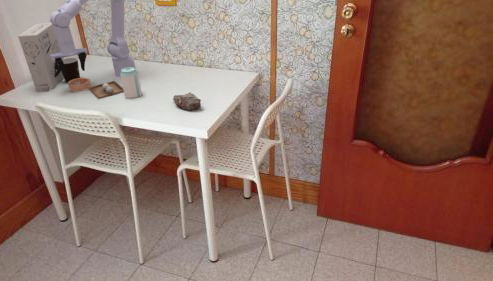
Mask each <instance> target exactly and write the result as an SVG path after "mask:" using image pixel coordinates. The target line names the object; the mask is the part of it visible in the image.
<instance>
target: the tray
mask: <svg viewBox="0 0 493 281" xmlns="http://www.w3.org/2000/svg"><path fill="white" fill-rule="evenodd" d="M105 83H107V84H109V85H110V86H111V87H113V89H114V91H113V93H110V94H108V93H107V92H106V91H105V90H103V88H102V86H103V84H105ZM105 83H100V84H97V85H91V87H88V89H87V90H89V91H90V93H92V94H93V96H95V97H96V98H97V99H98V100H101V99H105V98H107V97H112V96H115V95H119V94H124V90H123V86H122V85H120V84H119V83H118V82H116V81H115V80H113V81H109V82H105Z"/></svg>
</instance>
